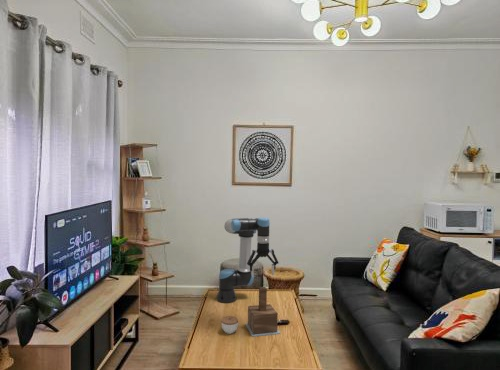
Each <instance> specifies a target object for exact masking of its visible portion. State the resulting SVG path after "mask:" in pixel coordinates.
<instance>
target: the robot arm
mask: <svg viewBox="0 0 500 370" xmlns="http://www.w3.org/2000/svg"><path fill="white" fill-rule="evenodd" d="M270 224H271V223H270V219H269V218H268V217H256V218H248V217H246V218H245V217H243V218H241V217H240V218H231V219H228V220H226V221H225V223H224V230H225V231H226V232H227V233H229V234H232V235H238V237H239V239H240V240H239V258H238V259H239V261H238V263H239V264H238V266H237V267H236V270H235V269H234V268H225V269H222V270H220V271H219V273H218V275H219V277H218V278H219V279H218V280H219V281H218V289H219V290H218V293H217V295H216V301H217V302H219V303H221V304H222V303H223V304H230V303H234V302H236V301H237V295H236V291H235V287H242V286H244V287H245V286H251V285H252V284H253V283H254V279H255V273H254V264H255V263H257V261H258V259H259V258H266V257H267V258H268V260H270V262H271V263H272V264H271V275H272V276H274V275H275V271H276V266H277V265H279V261H278V258H277V256H276V254H275V251H274V249H273V248H271V249H270ZM256 233H257V236H256V237H257V238H256V240H257V245H256V249H255V250H254V249H252V238H253V237H254V235H255V234H256ZM269 253H270V254H271V256H272V257H271V256H270V255H269ZM255 254H256V255H255ZM273 259H274V260H273Z"/></svg>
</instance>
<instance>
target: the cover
mask: <svg viewBox="0 0 500 370" xmlns="http://www.w3.org/2000/svg"><path fill="white" fill-rule="evenodd" d="M267 290H268V288H266V286H260V287H258V304H257V305H248V306H247V323H248V325H249V327H250V329H251V331H252V332H253V334H254V335H255V334H264V333H274V332H277V329H278V316H279V315H278V312H277V311H276V310H275V308H274V307H273V306H272V304H267V296H268V294H267V293H268V291H267Z"/></svg>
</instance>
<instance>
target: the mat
mask: <svg viewBox="0 0 500 370" xmlns="http://www.w3.org/2000/svg"><path fill="white" fill-rule="evenodd" d="M244 325H245V326H246V328H247V330H248V332H249V333H250V336H251V337H252V338H253V337H254V338H255V337H264V336H265V337H266V336H272V335H273V336H274V335H281V332H280V330H279V329H278V328H277V332H274V333H264V334H255V335H254V334H253V332H252V331H251V329H250V327H249V325H248V322H245V324H244Z"/></svg>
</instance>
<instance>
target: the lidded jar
mask: <svg viewBox="0 0 500 370" xmlns="http://www.w3.org/2000/svg"><path fill="white" fill-rule="evenodd" d="M220 320H221V329H222V330H223V331H224V333H226V334H234V333H235V332H236V331H237V329H238V327H239V318H238V317H236V316H233V315H227V316H224V317H222V318H221V319H220Z"/></svg>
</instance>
